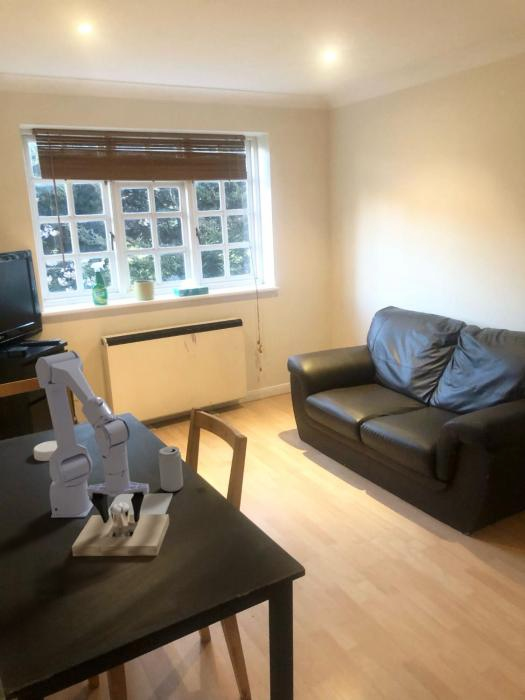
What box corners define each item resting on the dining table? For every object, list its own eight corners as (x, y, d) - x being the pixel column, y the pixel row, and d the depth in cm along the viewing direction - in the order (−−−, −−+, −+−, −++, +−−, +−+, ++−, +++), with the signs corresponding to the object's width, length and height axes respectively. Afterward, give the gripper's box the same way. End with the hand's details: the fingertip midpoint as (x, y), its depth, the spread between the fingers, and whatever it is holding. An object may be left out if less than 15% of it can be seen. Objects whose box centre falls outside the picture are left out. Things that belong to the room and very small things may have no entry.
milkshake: (116, 547, 132) (112, 509, 129) (111, 536, 136) (107, 499, 134) (135, 541, 134) (131, 504, 131) (129, 530, 138) (126, 495, 136)
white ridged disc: (33, 453, 189) (32, 443, 188) (64, 447, 193) (62, 438, 192) (35, 464, 180) (33, 454, 179) (67, 457, 184) (65, 448, 183)
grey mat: (104, 517, 145) (104, 516, 145) (117, 495, 157) (117, 494, 156) (164, 516, 144) (164, 515, 144) (173, 494, 156) (172, 493, 156)
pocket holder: (73, 556, 128) (71, 546, 128) (93, 523, 142) (92, 515, 141) (157, 555, 128) (156, 545, 127) (169, 522, 141) (168, 514, 141)
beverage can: (178, 494, 156) (175, 455, 153) (157, 492, 157) (154, 453, 155) (186, 483, 162) (183, 445, 159) (165, 482, 163) (162, 444, 161)
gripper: (80, 477, 127) (86, 530, 130) (141, 476, 126) (147, 529, 129) (90, 464, 134) (96, 514, 137) (149, 463, 133) (153, 513, 136)
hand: (121, 520), depth 134 cm, fingers open, 7 cm apart
